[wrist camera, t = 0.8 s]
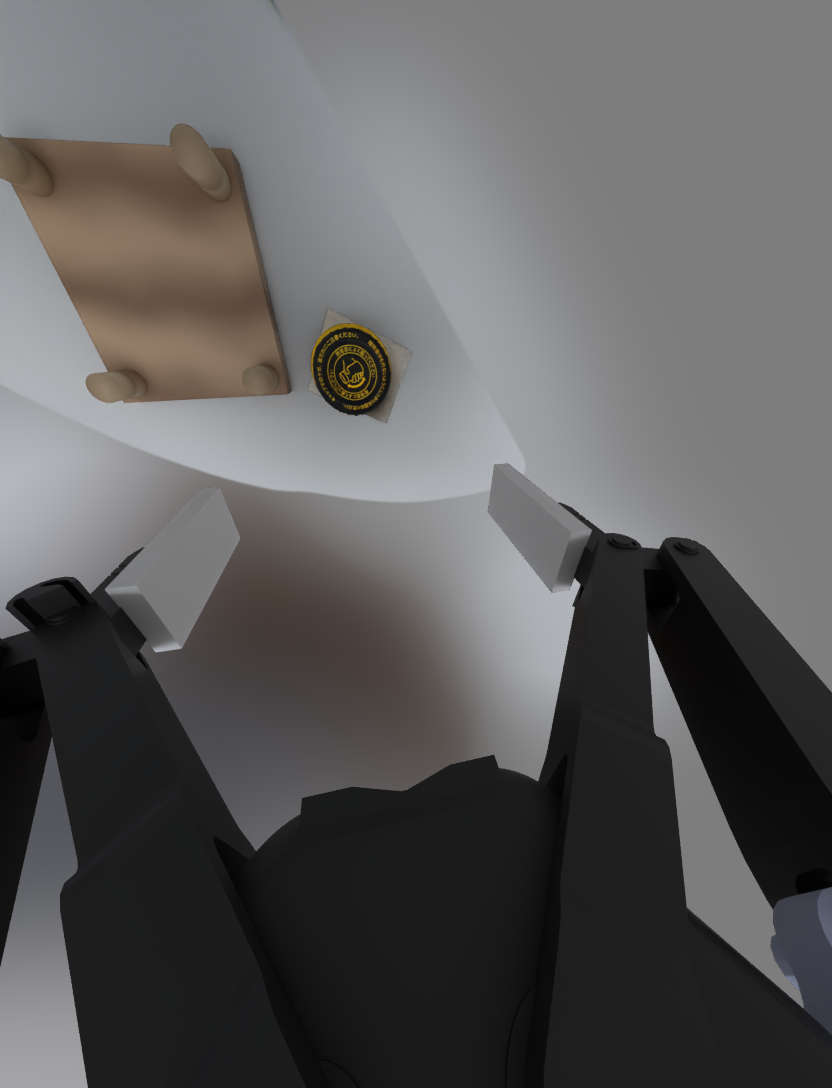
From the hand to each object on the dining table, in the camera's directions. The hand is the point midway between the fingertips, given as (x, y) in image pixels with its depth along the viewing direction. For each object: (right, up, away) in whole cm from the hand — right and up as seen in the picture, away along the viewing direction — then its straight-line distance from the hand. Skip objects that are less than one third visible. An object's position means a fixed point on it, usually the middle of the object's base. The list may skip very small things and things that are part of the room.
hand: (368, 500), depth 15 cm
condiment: (-3, +15, +16) cm, 22 cm away
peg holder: (-17, +19, +10) cm, 27 cm away
